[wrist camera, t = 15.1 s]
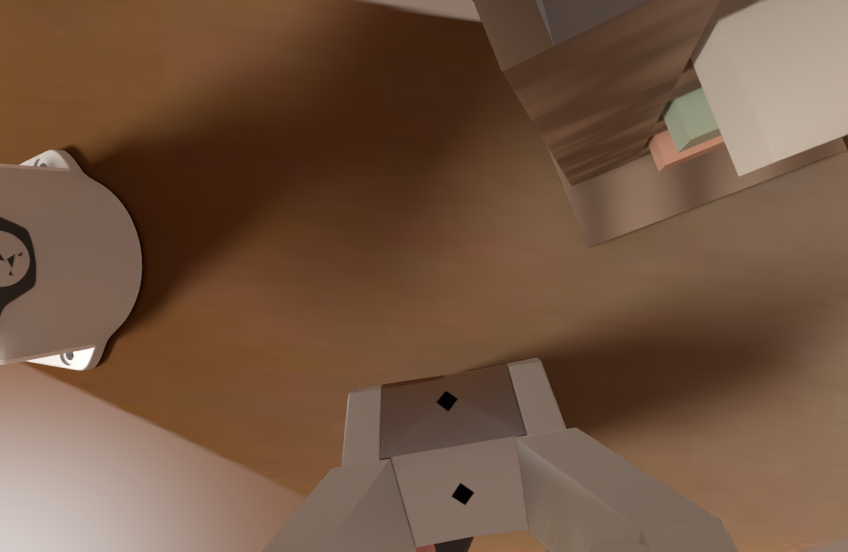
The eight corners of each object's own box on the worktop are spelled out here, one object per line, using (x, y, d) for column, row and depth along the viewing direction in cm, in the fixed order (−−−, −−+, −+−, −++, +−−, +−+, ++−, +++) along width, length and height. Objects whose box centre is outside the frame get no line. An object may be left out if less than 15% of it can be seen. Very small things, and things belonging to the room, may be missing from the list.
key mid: (677, 152, 24) (690, 139, 21) (620, 10, 24) (623, -26, 21) (810, 98, 23) (848, 74, 19) (748, -52, 23) (774, -103, 19)
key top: (739, 176, 16) (775, 161, 13) (653, -33, 17) (667, -102, 13) (946, 96, 15) (1050, 55, 11) (849, -132, 15) (922, -239, 12)
